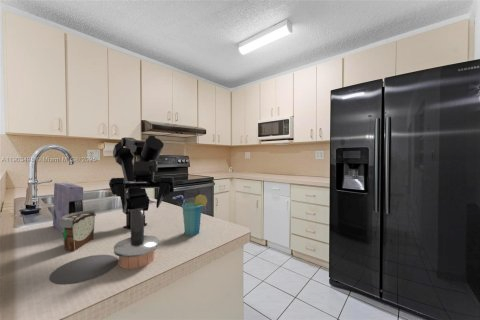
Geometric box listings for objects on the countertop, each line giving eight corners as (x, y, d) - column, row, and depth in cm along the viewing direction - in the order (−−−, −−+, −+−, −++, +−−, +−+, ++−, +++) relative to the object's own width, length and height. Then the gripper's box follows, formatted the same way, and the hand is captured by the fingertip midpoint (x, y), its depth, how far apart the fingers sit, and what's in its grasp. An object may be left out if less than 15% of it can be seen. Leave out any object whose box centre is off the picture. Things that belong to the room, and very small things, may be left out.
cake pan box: (84, 233, 79) (84, 185, 79) (68, 237, 75) (67, 187, 75) (67, 223, 90) (67, 181, 90) (52, 226, 86) (51, 182, 86)
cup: (178, 242, 71) (178, 197, 71) (167, 235, 77) (167, 194, 76) (211, 231, 81) (211, 192, 81) (199, 226, 87) (199, 190, 86)
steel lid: (103, 253, 54) (103, 214, 54) (136, 237, 65) (136, 204, 65) (138, 259, 51) (138, 218, 51) (167, 242, 61) (167, 207, 61)
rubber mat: (34, 279, 49) (34, 277, 49) (92, 253, 63) (92, 251, 63) (78, 291, 45) (78, 289, 45) (130, 260, 59) (130, 258, 59)
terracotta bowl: (112, 267, 55) (111, 252, 55) (136, 253, 63) (136, 239, 63) (138, 272, 53) (138, 256, 53) (160, 257, 61) (160, 243, 61)
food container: (77, 239, 74) (77, 210, 73) (96, 238, 74) (95, 209, 74) (48, 255, 61) (47, 221, 61) (71, 255, 62) (70, 220, 62)
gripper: (110, 151, 66) (97, 194, 56) (173, 152, 71) (172, 191, 61) (117, 174, 74) (107, 215, 63) (174, 174, 79) (173, 211, 69)
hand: (140, 208), depth 64 cm, fingers open, 9 cm apart
